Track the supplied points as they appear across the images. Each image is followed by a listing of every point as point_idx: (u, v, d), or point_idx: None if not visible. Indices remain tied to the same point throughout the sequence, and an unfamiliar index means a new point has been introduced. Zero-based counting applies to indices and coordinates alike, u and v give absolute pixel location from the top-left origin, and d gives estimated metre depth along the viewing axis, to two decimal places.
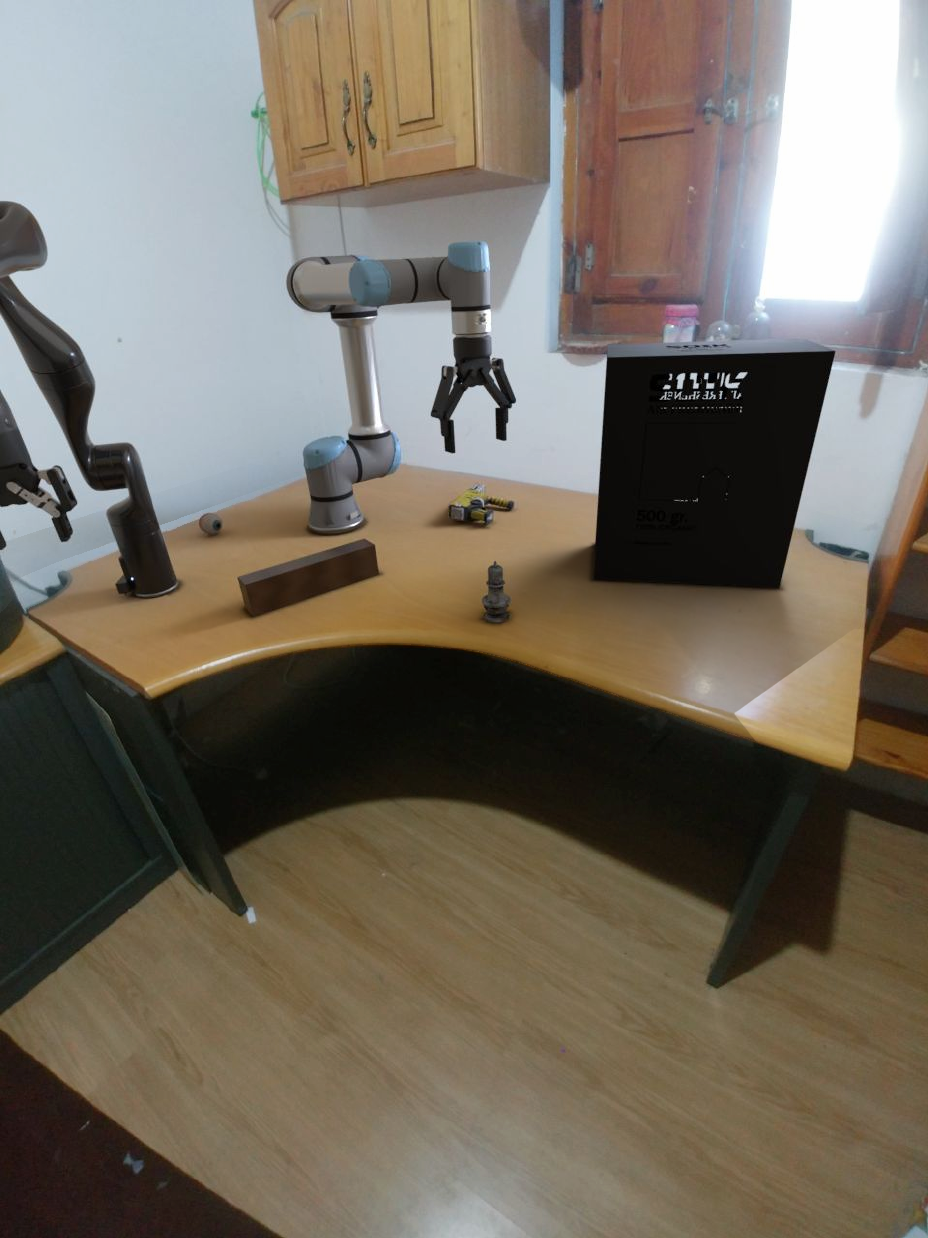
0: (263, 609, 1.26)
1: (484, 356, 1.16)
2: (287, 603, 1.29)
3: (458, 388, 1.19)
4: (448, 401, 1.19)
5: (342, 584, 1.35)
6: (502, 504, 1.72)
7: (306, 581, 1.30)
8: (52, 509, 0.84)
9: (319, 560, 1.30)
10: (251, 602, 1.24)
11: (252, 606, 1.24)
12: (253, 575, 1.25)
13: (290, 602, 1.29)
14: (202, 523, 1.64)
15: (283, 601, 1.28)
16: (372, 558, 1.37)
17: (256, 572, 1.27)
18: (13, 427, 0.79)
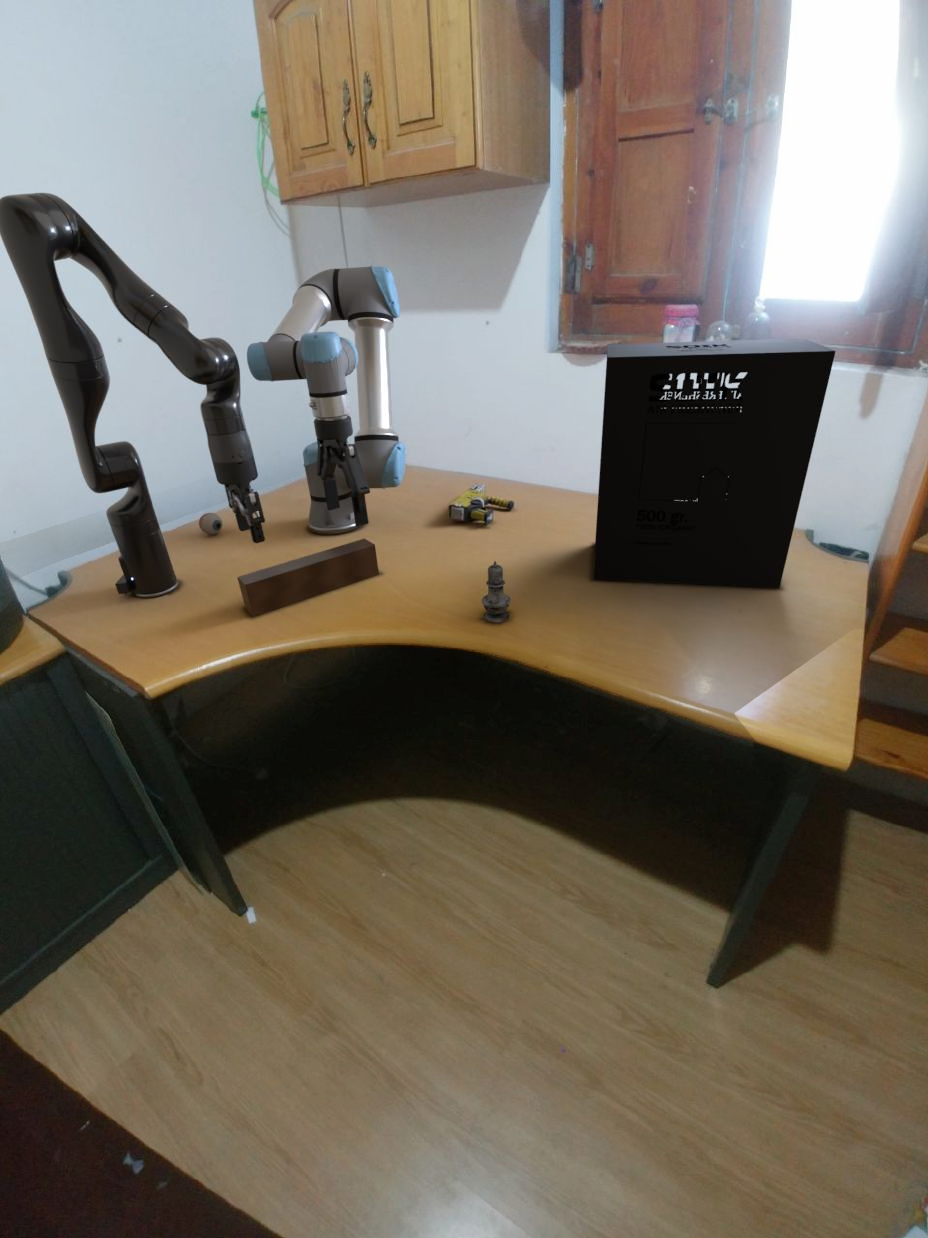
0: (263, 609, 1.26)
1: (318, 438, 1.22)
2: (287, 603, 1.29)
3: None
4: None
5: (342, 584, 1.35)
6: (502, 504, 1.72)
7: (306, 581, 1.30)
8: None
9: (319, 560, 1.30)
10: (251, 602, 1.24)
11: (252, 606, 1.24)
12: (253, 575, 1.25)
13: (290, 602, 1.29)
14: (202, 523, 1.64)
15: (283, 601, 1.28)
16: (372, 558, 1.37)
17: (256, 572, 1.27)
18: None
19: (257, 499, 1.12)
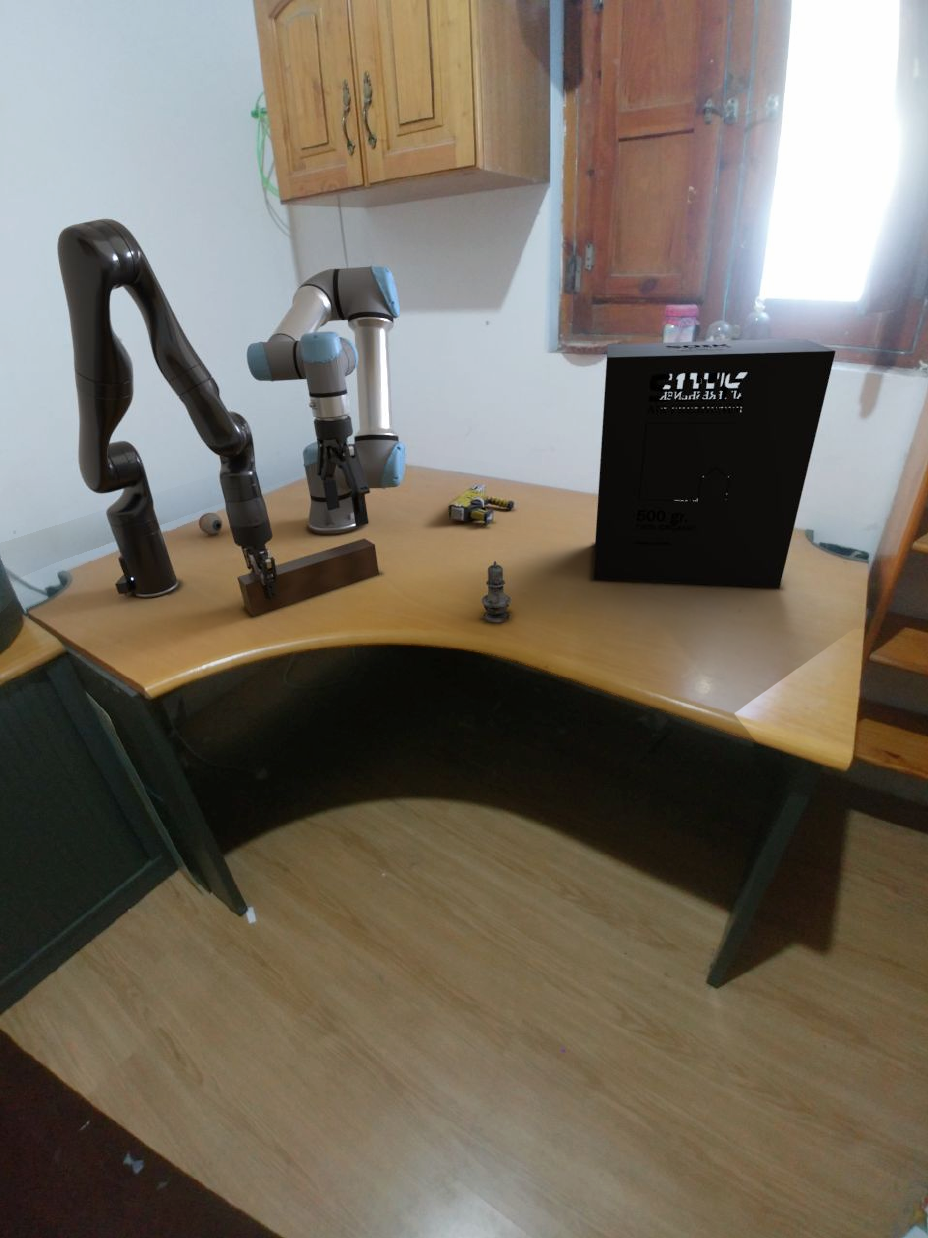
0: (263, 609, 1.26)
1: (318, 438, 1.22)
2: (287, 603, 1.29)
3: None
4: None
5: (342, 584, 1.35)
6: (502, 504, 1.72)
7: (306, 581, 1.30)
8: None
9: (319, 560, 1.30)
10: (251, 602, 1.24)
11: (252, 606, 1.24)
12: (253, 575, 1.25)
13: (290, 602, 1.29)
14: (202, 523, 1.64)
15: (283, 601, 1.28)
16: (372, 558, 1.37)
17: None
18: None
19: (273, 565, 1.19)
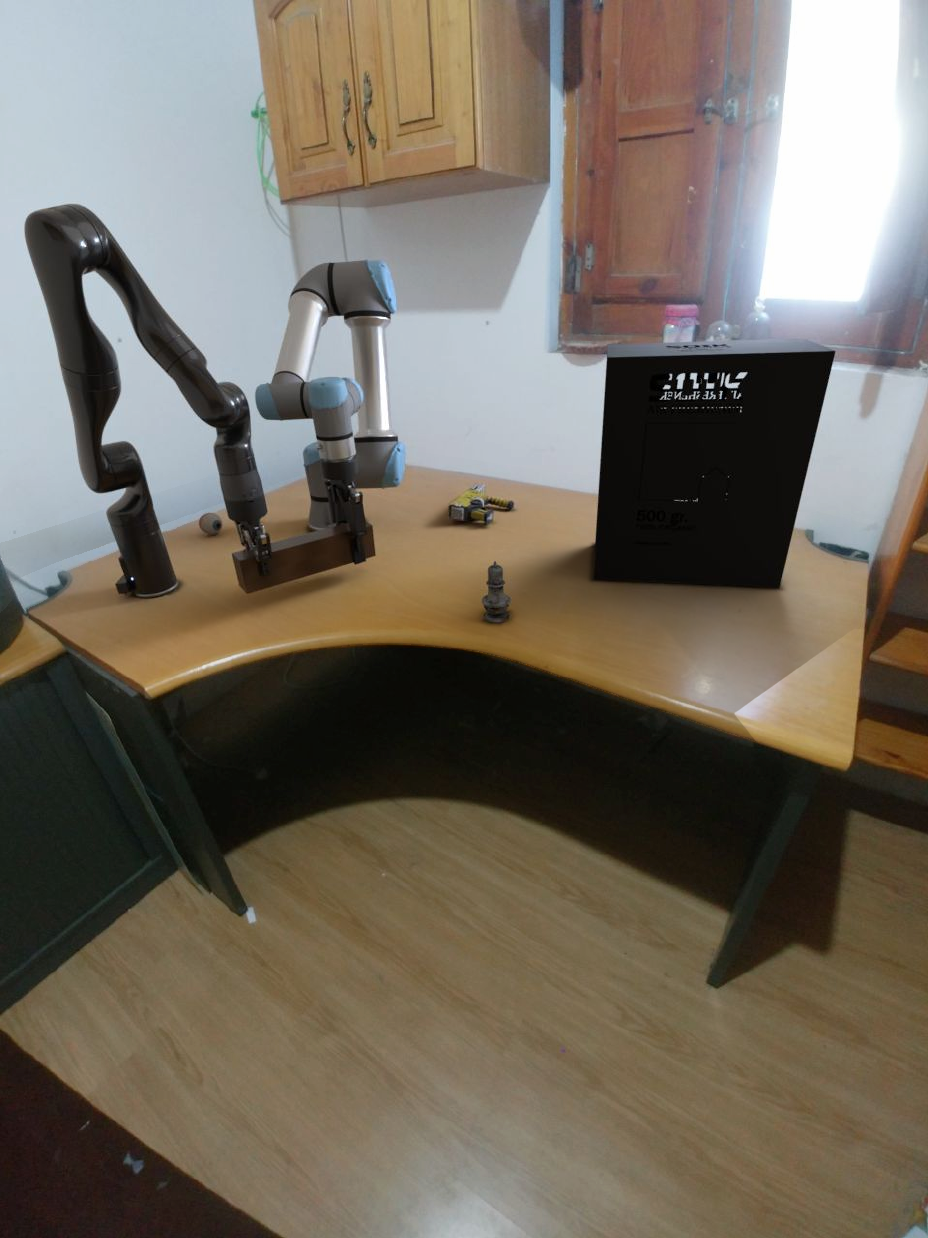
0: (257, 586, 1.24)
1: (325, 478, 1.26)
2: (282, 581, 1.27)
3: None
4: None
5: (338, 564, 1.33)
6: (502, 504, 1.72)
7: (301, 559, 1.27)
8: None
9: (316, 538, 1.28)
10: (245, 579, 1.22)
11: (246, 583, 1.22)
12: (247, 552, 1.23)
13: (285, 580, 1.27)
14: (202, 523, 1.64)
15: (277, 579, 1.26)
16: (369, 538, 1.35)
17: None
18: None
19: (268, 540, 1.17)
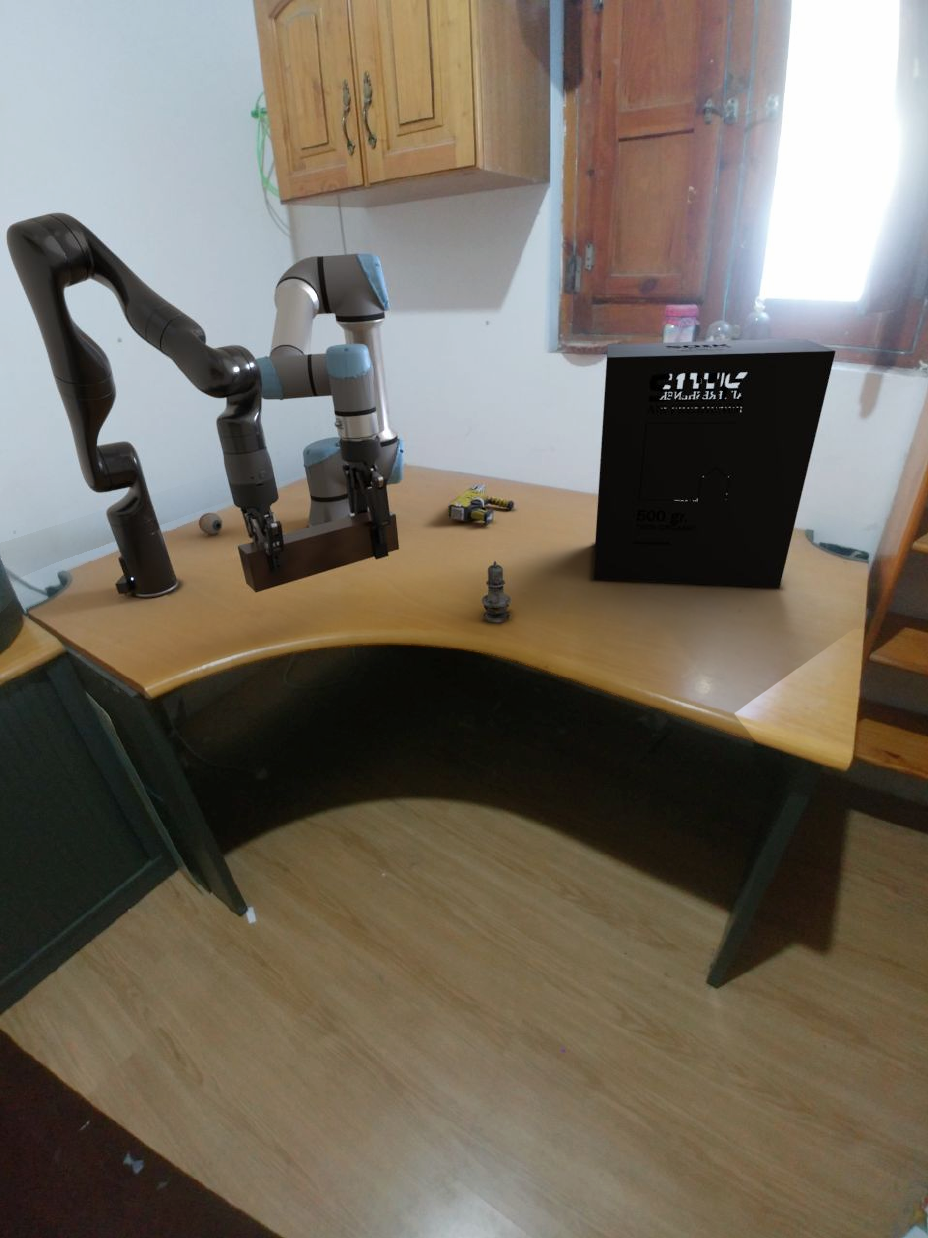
0: (267, 584, 1.08)
1: (344, 460, 1.11)
2: (295, 578, 1.11)
3: None
4: None
5: (358, 558, 1.18)
6: (502, 504, 1.72)
7: (317, 552, 1.12)
8: None
9: (333, 529, 1.13)
10: (253, 575, 1.06)
11: (254, 580, 1.07)
12: (256, 544, 1.08)
13: (298, 577, 1.12)
14: (202, 523, 1.64)
15: (290, 575, 1.10)
16: (392, 529, 1.20)
17: (259, 541, 1.09)
18: None
19: (279, 530, 1.02)
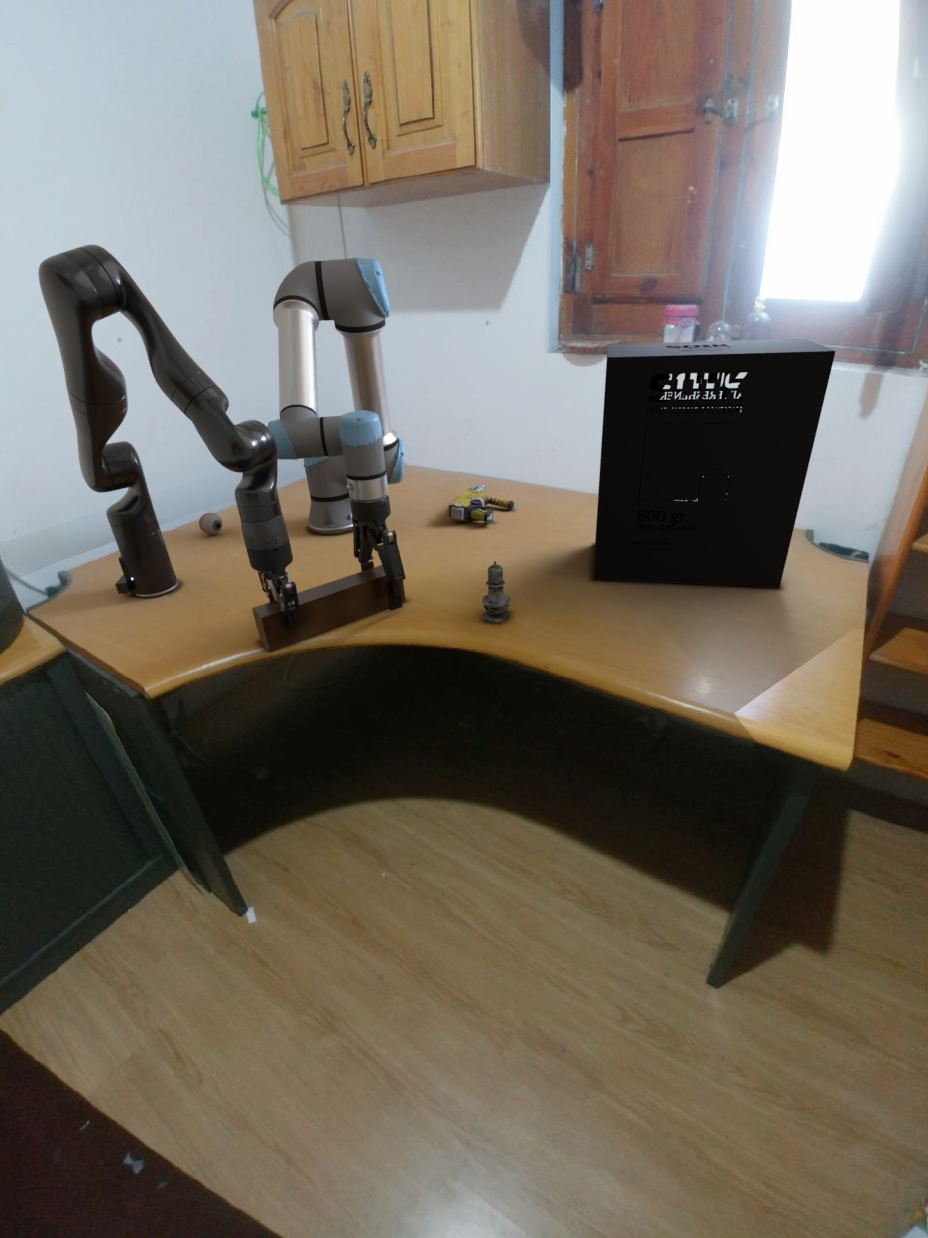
0: (281, 643, 1.14)
1: (355, 519, 1.16)
2: (307, 636, 1.17)
3: None
4: None
5: (366, 613, 1.23)
6: (502, 504, 1.72)
7: (327, 611, 1.17)
8: None
9: (342, 588, 1.18)
10: (268, 636, 1.12)
11: (269, 641, 1.12)
12: (269, 606, 1.13)
13: (310, 635, 1.17)
14: (202, 523, 1.64)
15: (302, 634, 1.16)
16: None
17: (273, 602, 1.14)
18: None
19: (294, 590, 1.06)
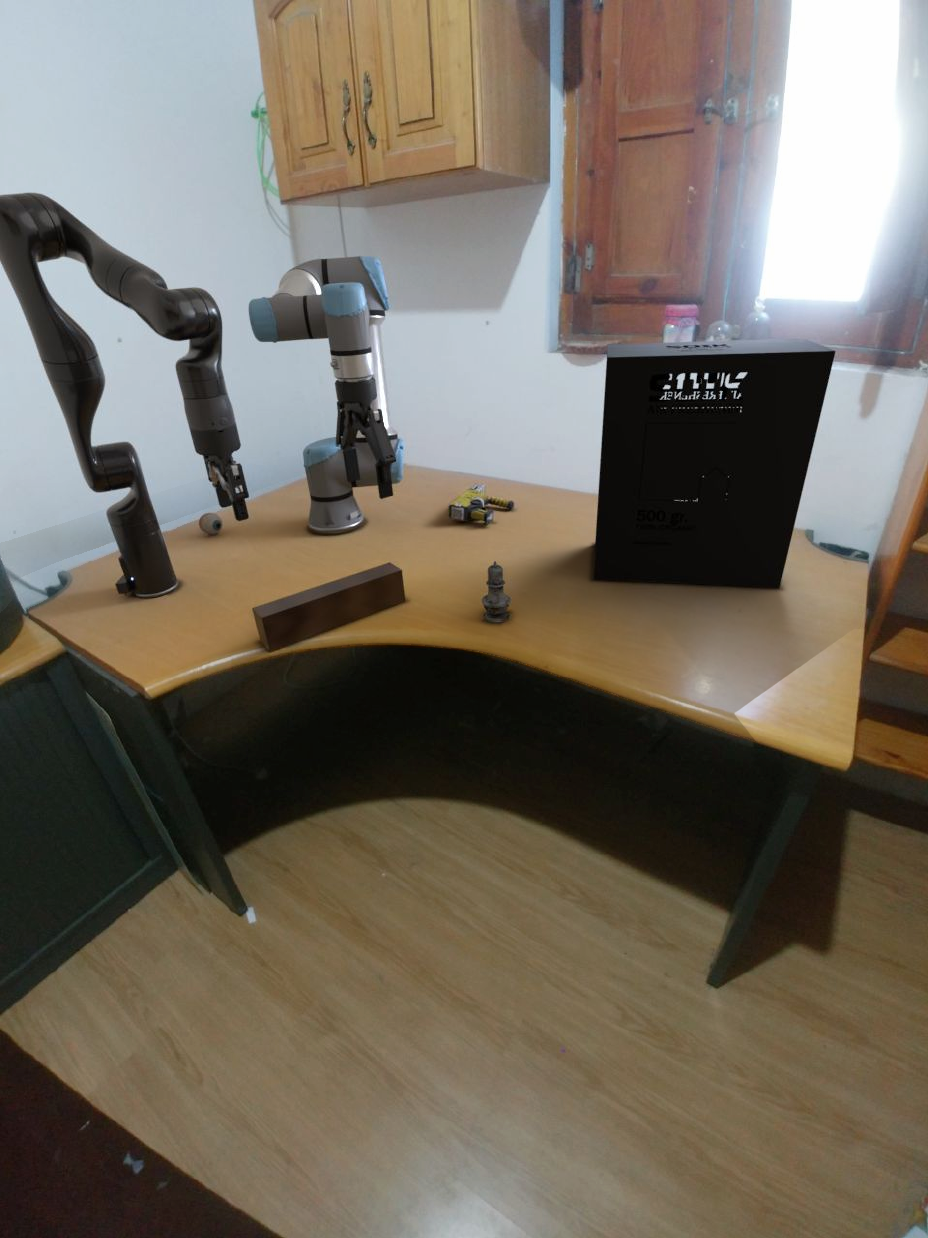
0: (281, 643, 1.14)
1: (340, 401, 1.12)
2: (307, 636, 1.17)
3: None
4: None
5: (366, 613, 1.23)
6: (502, 504, 1.72)
7: (327, 611, 1.17)
8: None
9: (342, 588, 1.18)
10: (268, 636, 1.12)
11: (269, 641, 1.12)
12: (269, 606, 1.13)
13: (310, 635, 1.17)
14: (202, 523, 1.64)
15: (302, 634, 1.16)
16: (398, 584, 1.25)
17: (273, 602, 1.14)
18: None
19: (240, 472, 1.01)
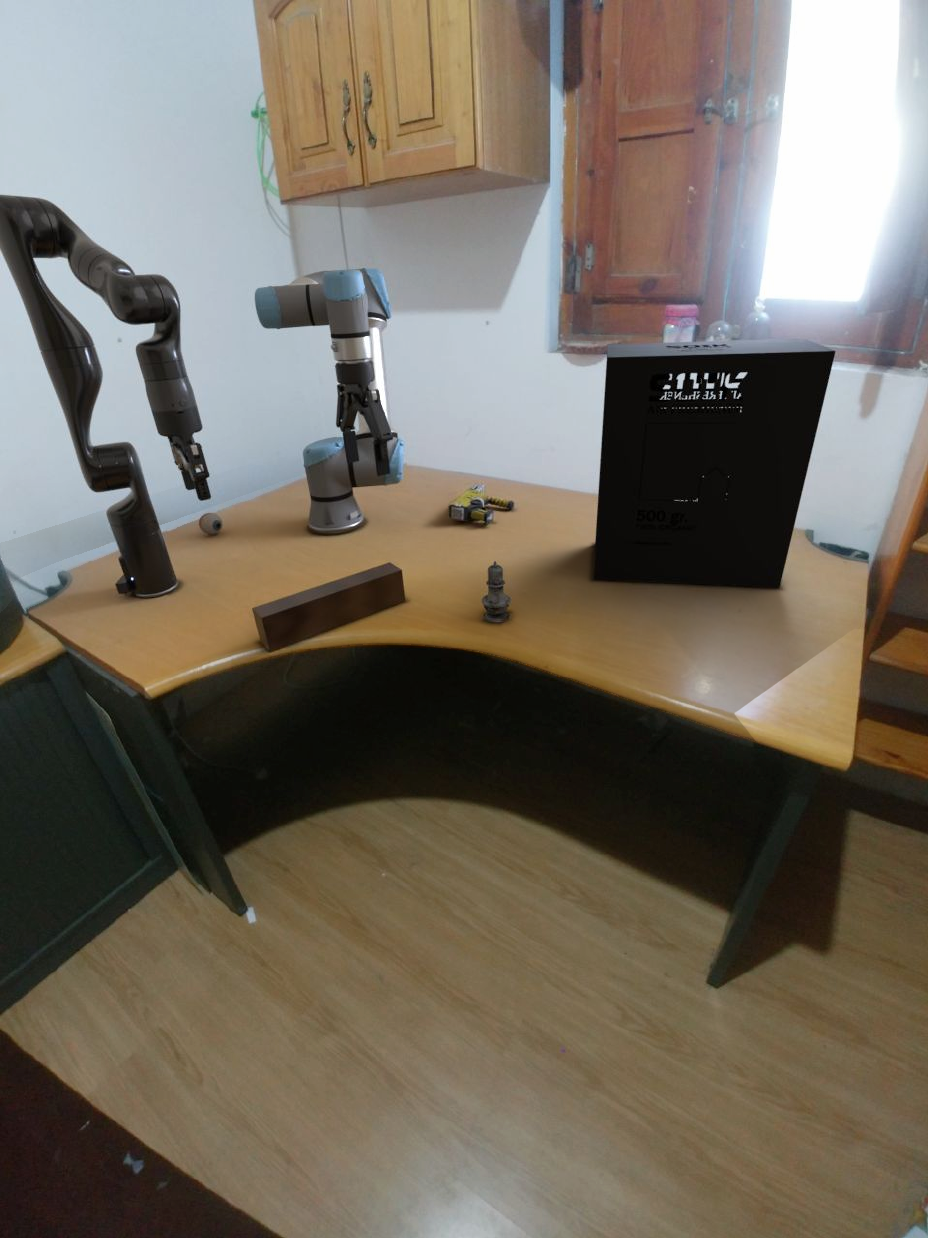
0: (281, 643, 1.14)
1: (340, 382, 1.18)
2: (307, 636, 1.17)
3: None
4: None
5: (366, 613, 1.23)
6: (502, 504, 1.72)
7: (327, 611, 1.17)
8: None
9: (342, 588, 1.18)
10: (268, 636, 1.12)
11: (269, 641, 1.12)
12: (269, 606, 1.13)
13: (310, 635, 1.17)
14: (202, 523, 1.64)
15: (302, 634, 1.16)
16: (398, 584, 1.25)
17: (273, 602, 1.14)
18: None
19: (200, 451, 1.05)
